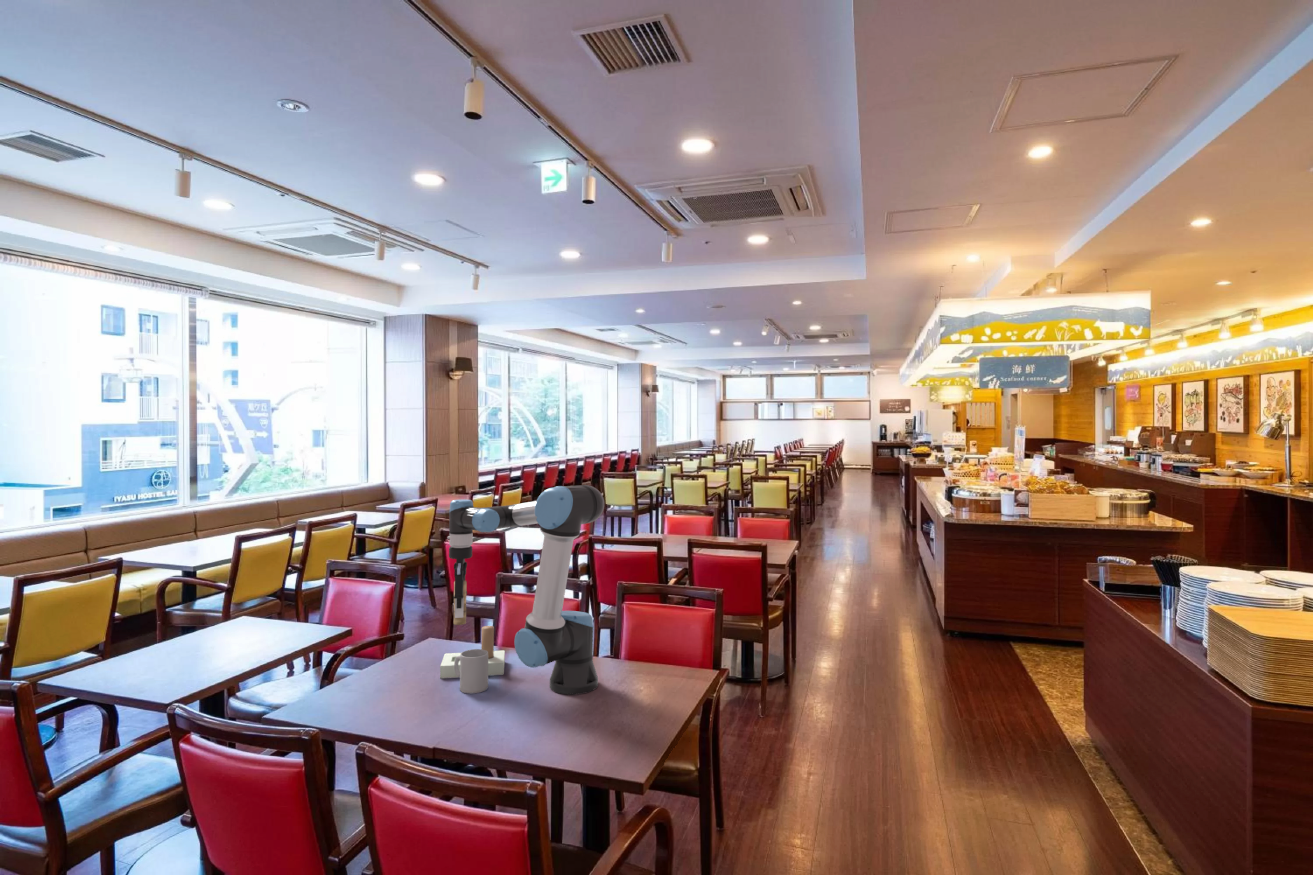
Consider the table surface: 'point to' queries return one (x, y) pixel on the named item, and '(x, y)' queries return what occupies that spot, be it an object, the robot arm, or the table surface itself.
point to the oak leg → (463, 620)
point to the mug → (472, 670)
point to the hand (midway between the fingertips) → (459, 615)
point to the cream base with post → (487, 643)
